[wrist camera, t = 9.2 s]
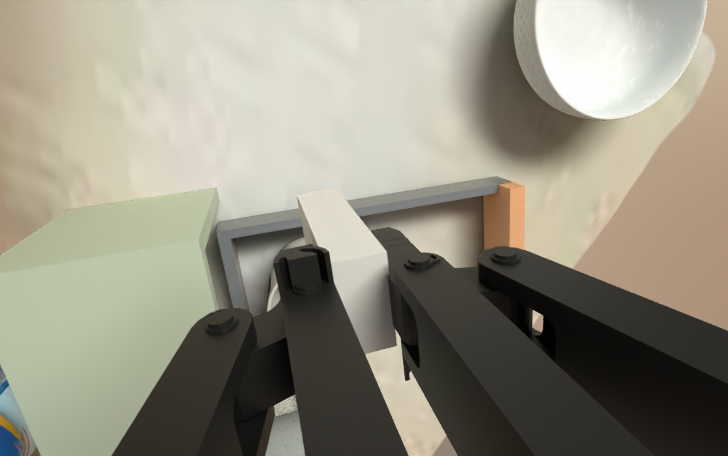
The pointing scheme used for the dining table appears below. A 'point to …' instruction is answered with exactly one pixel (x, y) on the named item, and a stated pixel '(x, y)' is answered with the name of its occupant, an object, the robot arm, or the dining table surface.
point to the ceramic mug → (286, 436)
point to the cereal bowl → (605, 51)
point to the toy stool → (101, 314)
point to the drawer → (499, 211)
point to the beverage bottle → (13, 424)
